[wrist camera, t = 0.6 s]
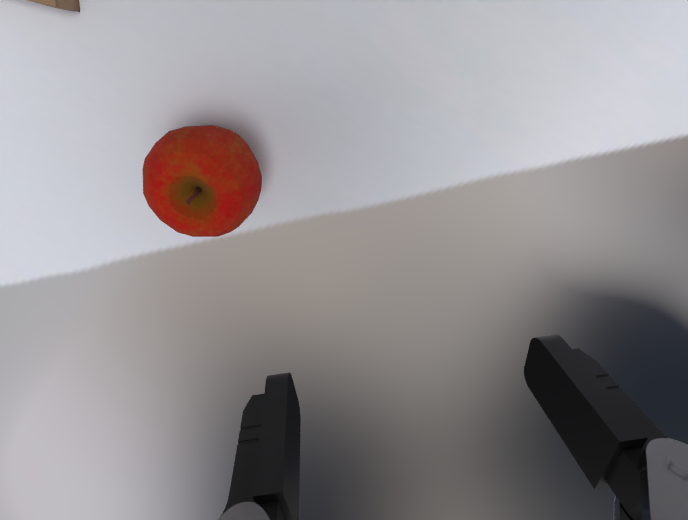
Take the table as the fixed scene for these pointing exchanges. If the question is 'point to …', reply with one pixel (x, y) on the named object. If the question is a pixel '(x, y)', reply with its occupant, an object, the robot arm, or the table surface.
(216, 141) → the apple
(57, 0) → the plinth
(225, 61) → the table surface
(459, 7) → the table surface
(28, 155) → the table surface
